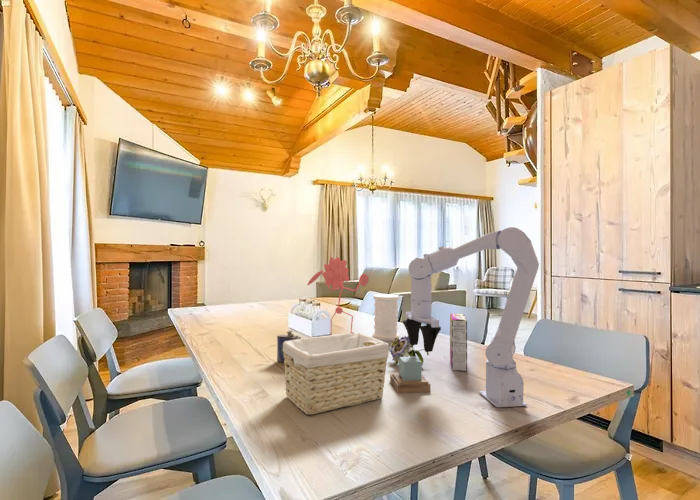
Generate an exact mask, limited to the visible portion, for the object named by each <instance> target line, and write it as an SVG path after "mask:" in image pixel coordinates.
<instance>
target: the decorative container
mask: <svg viewBox="0 0 700 500" xmlns="http://www.w3.org/2000/svg"><path fill="white" fill-rule="evenodd" d="M399 299H400V296H399V295H398V294H389V293H380V294H379V293H378V294H377V293H376V294H373V300H374V305H373V306H374V311H373V313H374V319H373V321H374V325H373V328H374V332H373V333H372V335H371V337H373V338H375V339H378V340H381V341H383V342H386V341H390V342H391V341H393V340H394V339H395V338H399V339H400V334H399V333H398V321H399V319H398V314H399V312H398V307H399V304H398V300H399Z"/></svg>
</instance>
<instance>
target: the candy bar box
mask: <svg viewBox="0 0 700 500" xmlns="http://www.w3.org/2000/svg"><path fill="white" fill-rule="evenodd" d="M449 359H450V362H449V363H450V365H451V366H450V367H451V370H452V371H453V372H468V320H467V317H466V315H465V314H464V313H452V312H451V313H449Z"/></svg>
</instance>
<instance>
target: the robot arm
mask: <svg viewBox="0 0 700 500" xmlns="http://www.w3.org/2000/svg"><path fill="white" fill-rule="evenodd" d="M490 249H491V250H502V251H503V252H504V253H506V255H508V256H509V257H510V258H511V260H512V262H513V263H514V264H515V266H516V268H517V269H516V273H515V275H514V278H513V281H512V284H511V287H510V291H509V293H508V296H507V300H506V303H505V305H504V308H503V312H502V315H501V318H500V321H499V324H498V327H497V329H496V332H495V334H494V337H493V338H491V340H490V344H488V345H487V346H486V349H485V356H486V360H485V362H486V363H485V390H480V391H479V394H480V395H481V396H482V397H484V398H485V399H486V400H487V401H489V402H490V403H491V404H492V405H493V406H495V408H509V407H511V408H512V407H513V408H514V407H526V406H527V403H526V402H525V401H524V378H523V376H522V375H521V374H520V373H519V372H518V370H517V362H516V361H515V360H514V355H515V353H516V340H515V339H516V336H517V333H518V330H519V328H520V324H521V321H522V318H523V315H524V312H525V309H526V307H527V304H528V303H527V302H528V300H529V297H530V294H531V292H532V289H533V286H534V282H535V280H536V277H537V273H538V270H539V267H540V266H539V264H540V263H539V260H538V257H537V255H536V251H535V249H534V246H533V243H532V240H531V239H530V238H529V236H528V235H527V234H526V233H525V232H524V231H523V230H522V229H519V228H517V227H514V226H513V227H512V226H511V227H510V226H509V227H506V228H504V229H502V230H495V231H493V232H489V233H486V234H484V235H481V236H479V237H477V238H475V239H473V240H470V241H468V242H466V243H464V244H461V245H459V246H457V247H455V248H453V247H451V246H448V245H447V246H444V245H441V246H439V247H438V249H437V250H436V251H433V252H430V253H429V254H428V253H423V255H422V256H423V257H415V258H414V259H413V260H411V261H410V263H408V264H409V265H408V272H409V274H410V276H411V280H410V281H411V284H410V311H405V315H404V319H406V320H402V324H403V325H404V327H405V330H406V332H407V336H408V337H409V341H410V345H414V346H417V345H418V344H419V337H420V331H421V335H422V339H423V340H422V341H423V349H424V350H423V351H424V352H425V353H427V352H428V353H429V352H430V353H431V352H433V350H434V346H435V343H436V339H437V337H438V335H439V333H440V331H441V330H442V328H441V326H440V319H437V318H435V317H434V316H433V315H432V288H433V287H432V276H433V274H438V273H441V272H442V271H443V272H444V271H445V270H448V269H451V268H453V267H456V266H457V265H458V262H459V260H460V259H463V258H465V257H468V256H472V255H474V254H477V253H479V252H482V251H485V250H490ZM422 324H424V325H422Z"/></svg>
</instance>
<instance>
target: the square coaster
mask: <svg viewBox="0 0 700 500" xmlns="http://www.w3.org/2000/svg"><path fill="white" fill-rule="evenodd" d="M389 379H390V380H389V382H390V383H391V384H392V387H394V389H395V391H396V393H398V394H402V393H403V394H404V393H405V394H406V393H407V394H409V393H427V392H429V393H431V383H430V381H428V380H427V379H426V378H425V376H423V375H422V380H409V381H404V380H403V379H402V378H401V376H400V375H399V372H392V373H390V375H389Z"/></svg>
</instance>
